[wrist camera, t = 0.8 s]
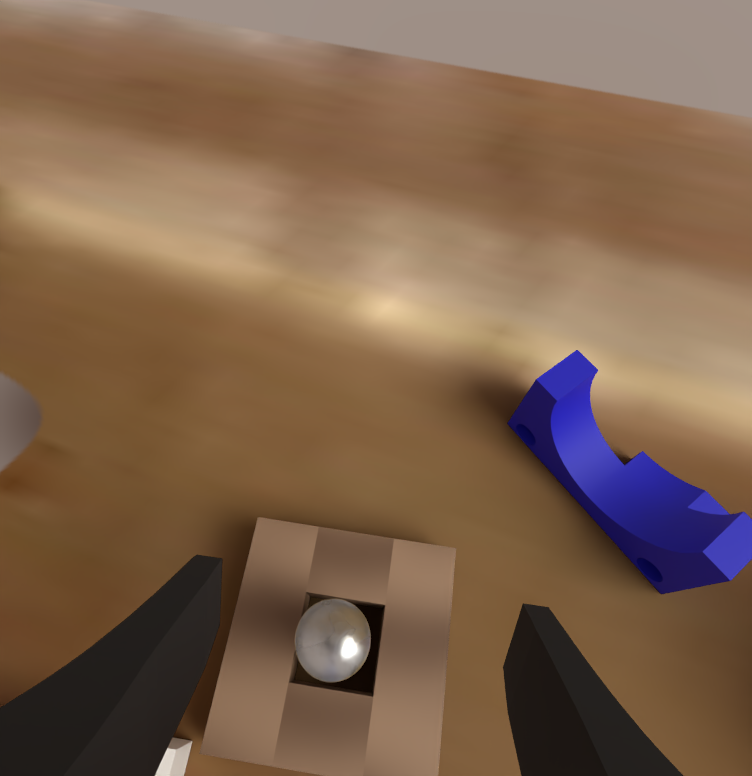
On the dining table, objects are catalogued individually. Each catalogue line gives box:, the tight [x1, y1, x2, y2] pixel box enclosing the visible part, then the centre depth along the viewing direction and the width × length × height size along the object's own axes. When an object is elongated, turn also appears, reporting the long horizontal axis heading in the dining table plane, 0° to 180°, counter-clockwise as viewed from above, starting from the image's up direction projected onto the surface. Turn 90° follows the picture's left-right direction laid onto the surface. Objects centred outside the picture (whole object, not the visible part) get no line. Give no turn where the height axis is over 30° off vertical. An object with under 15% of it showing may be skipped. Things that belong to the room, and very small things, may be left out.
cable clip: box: [507, 350, 752, 594], centre depth 28 cm, size 12×4×6 cm, turn 36°
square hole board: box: [200, 517, 456, 776], centre depth 25 cm, size 10×10×2 cm
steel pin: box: [295, 599, 371, 682], centre depth 23 cm, size 3×3×9 cm
